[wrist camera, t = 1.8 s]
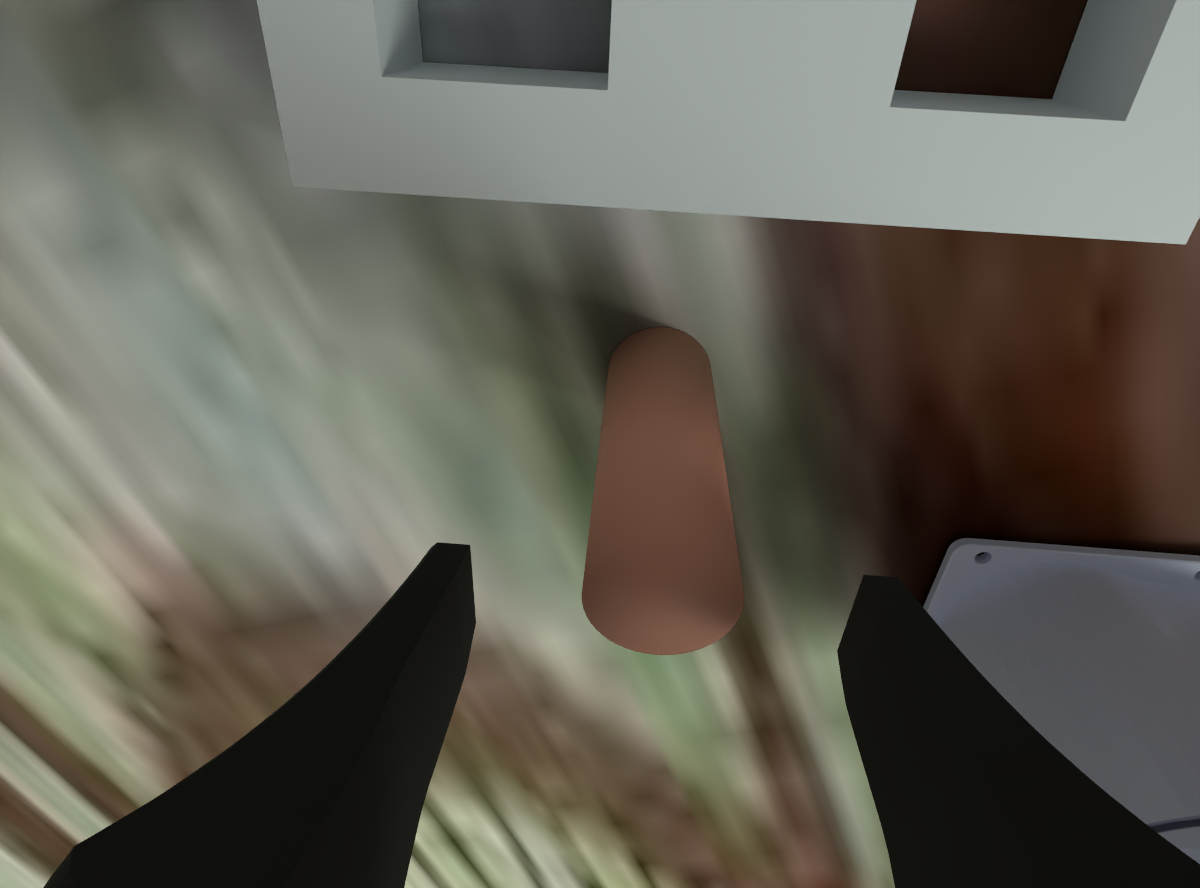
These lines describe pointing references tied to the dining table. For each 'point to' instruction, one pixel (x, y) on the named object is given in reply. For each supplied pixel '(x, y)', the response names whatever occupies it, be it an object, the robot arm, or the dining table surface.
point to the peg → (661, 503)
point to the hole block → (754, 119)
